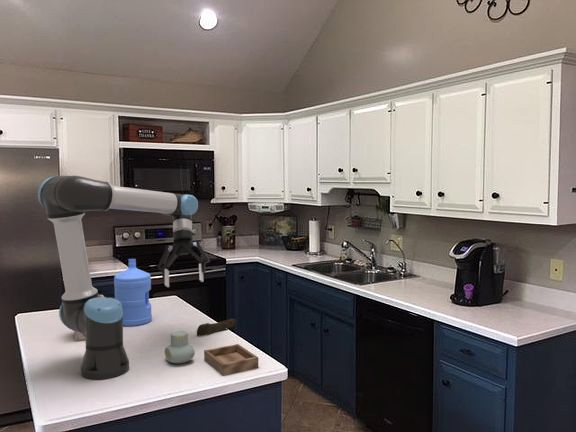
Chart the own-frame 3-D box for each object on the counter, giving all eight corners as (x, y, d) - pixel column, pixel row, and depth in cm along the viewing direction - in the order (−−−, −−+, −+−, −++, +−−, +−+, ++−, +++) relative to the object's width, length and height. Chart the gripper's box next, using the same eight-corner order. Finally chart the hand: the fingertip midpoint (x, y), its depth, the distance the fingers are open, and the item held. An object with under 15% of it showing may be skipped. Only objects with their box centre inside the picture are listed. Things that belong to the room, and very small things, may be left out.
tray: (222, 375, 160) (222, 365, 159) (204, 360, 173) (204, 350, 173) (258, 367, 166) (258, 357, 166) (238, 353, 180) (238, 343, 180)
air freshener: (196, 363, 171) (196, 334, 170) (173, 368, 166) (172, 339, 165) (185, 353, 180) (184, 326, 179) (163, 358, 175) (162, 330, 175)
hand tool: (231, 326, 214) (231, 315, 214) (236, 328, 211) (236, 317, 211) (193, 335, 202) (193, 324, 201) (198, 338, 199) (198, 326, 198)
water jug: (124, 329, 210) (122, 263, 208) (109, 321, 221) (107, 259, 219) (158, 322, 220) (156, 259, 218) (142, 314, 232) (141, 255, 230)
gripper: (215, 231, 200) (218, 281, 191) (156, 240, 202) (156, 290, 193) (210, 223, 193) (213, 275, 184) (149, 233, 195) (148, 285, 186)
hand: (184, 283), depth 189 cm, fingers open, 13 cm apart
